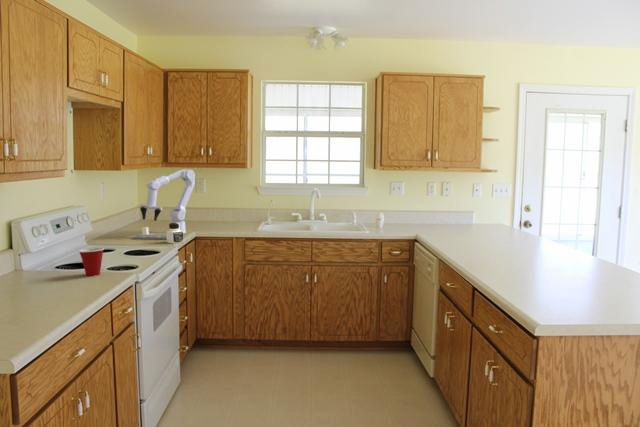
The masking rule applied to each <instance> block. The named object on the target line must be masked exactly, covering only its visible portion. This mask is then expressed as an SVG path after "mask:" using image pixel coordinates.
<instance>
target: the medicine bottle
mask: <svg viewBox="0 0 640 427" xmlns="http://www.w3.org/2000/svg"><path fill="white" fill-rule="evenodd" d="M168 226H169V227H168V228H169V230H166V231H165V233H166V238H167V240H166V243H169V244H179V243H180V244H181V243H184V234H183V231H181V230H179V229H180V226H179V223H173V222H171V223H169V225H168Z"/></svg>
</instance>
